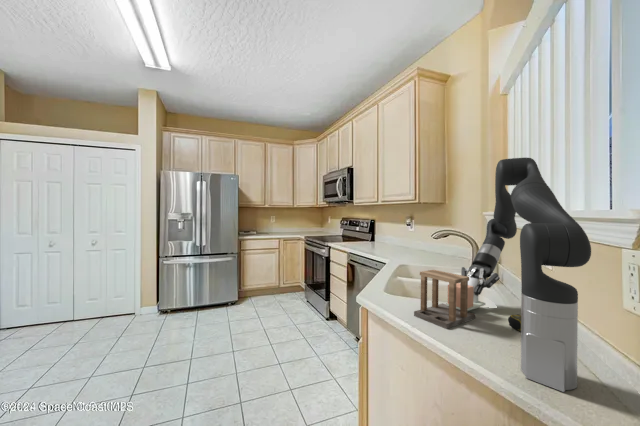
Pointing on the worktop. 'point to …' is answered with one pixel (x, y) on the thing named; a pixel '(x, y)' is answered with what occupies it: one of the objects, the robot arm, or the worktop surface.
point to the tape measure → (515, 321)
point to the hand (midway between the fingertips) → (470, 292)
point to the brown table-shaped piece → (442, 312)
